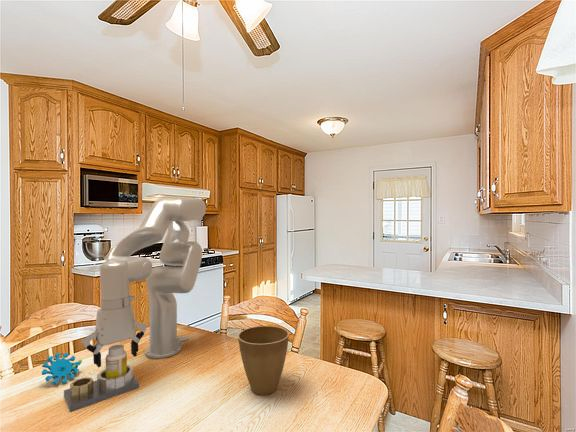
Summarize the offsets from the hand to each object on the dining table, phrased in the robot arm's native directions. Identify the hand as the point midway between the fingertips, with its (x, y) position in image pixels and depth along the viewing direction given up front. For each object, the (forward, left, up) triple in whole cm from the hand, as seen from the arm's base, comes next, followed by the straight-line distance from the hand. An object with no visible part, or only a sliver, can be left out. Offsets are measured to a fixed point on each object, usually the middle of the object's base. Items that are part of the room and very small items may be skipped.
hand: (116, 360), depth 95 cm
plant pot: (-32, +30, -8) cm, 45 cm away
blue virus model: (+11, -16, -8) cm, 21 cm away
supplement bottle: (0, 0, -7) cm, 7 cm away
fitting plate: (+4, 0, -8) cm, 9 cm away
